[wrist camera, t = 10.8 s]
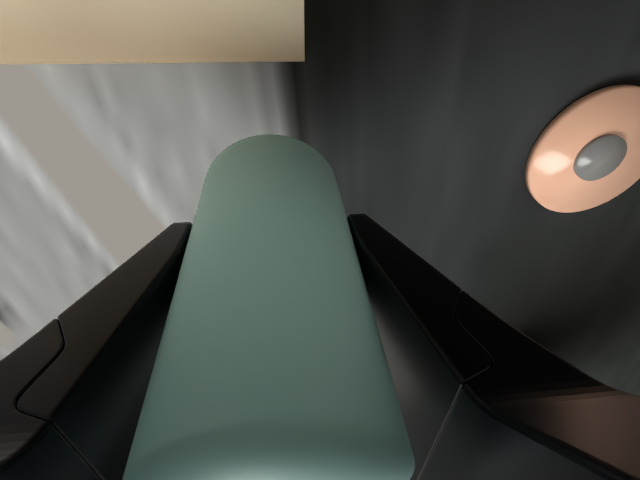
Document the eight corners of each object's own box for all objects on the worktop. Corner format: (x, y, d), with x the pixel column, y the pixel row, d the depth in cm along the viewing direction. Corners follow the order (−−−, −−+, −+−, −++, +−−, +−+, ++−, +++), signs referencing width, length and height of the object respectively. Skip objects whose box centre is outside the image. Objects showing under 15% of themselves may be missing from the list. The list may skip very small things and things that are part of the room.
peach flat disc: (617, 204, 16) (628, 212, 16) (507, 210, 16) (514, 218, 15) (690, 82, 13) (706, 88, 13) (555, 85, 13) (566, 91, 12)
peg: (334, 245, 11) (394, 518, 6) (215, 252, 11) (163, 547, 6) (341, 132, 9) (442, 402, 4) (191, 136, 9) (68, 438, 3)
